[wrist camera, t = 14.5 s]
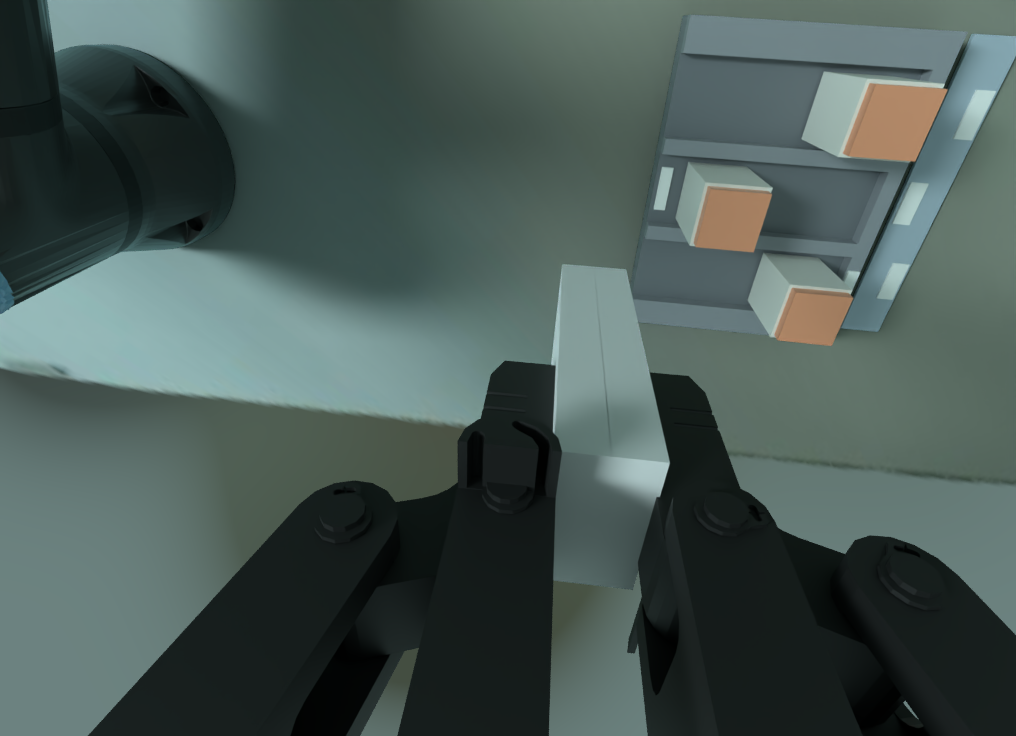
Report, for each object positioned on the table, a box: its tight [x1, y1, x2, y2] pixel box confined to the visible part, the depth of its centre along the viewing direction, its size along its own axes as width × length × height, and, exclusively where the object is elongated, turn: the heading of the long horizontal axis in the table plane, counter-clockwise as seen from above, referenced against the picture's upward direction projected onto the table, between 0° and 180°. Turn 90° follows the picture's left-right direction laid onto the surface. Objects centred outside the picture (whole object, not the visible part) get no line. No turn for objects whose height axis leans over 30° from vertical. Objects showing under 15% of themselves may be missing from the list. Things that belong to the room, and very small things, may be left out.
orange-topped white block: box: [676, 162, 773, 252], centre depth 35 cm, size 4×4×7 cm
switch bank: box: [630, 15, 968, 335], centre depth 38 cm, size 16×21×3 cm
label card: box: [840, 34, 1016, 332], centre depth 39 cm, size 3×21×1 cm, turn 177°
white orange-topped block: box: [801, 71, 948, 163], centre depth 31 cm, size 4×4×7 cm
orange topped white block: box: [748, 253, 853, 346], centre depth 38 cm, size 4×4×7 cm
